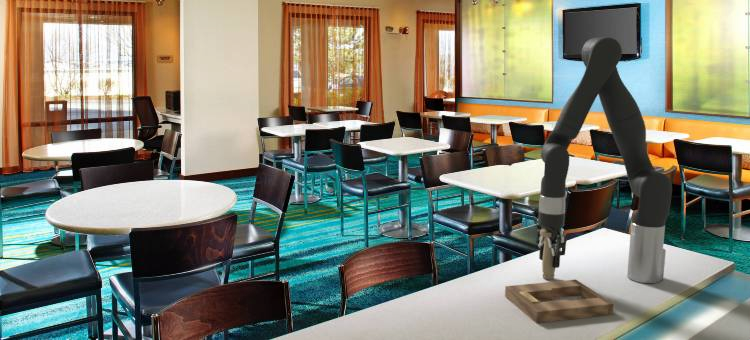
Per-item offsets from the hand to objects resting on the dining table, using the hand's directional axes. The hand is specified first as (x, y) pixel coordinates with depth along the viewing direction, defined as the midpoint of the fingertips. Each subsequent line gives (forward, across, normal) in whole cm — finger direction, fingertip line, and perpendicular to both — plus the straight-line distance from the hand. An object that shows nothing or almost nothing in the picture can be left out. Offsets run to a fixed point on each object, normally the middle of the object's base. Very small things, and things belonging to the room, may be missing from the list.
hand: (549, 263), depth 185 cm
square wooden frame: (+5, -19, +8) cm, 21 cm away
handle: (+5, 0, 0) cm, 5 cm away
